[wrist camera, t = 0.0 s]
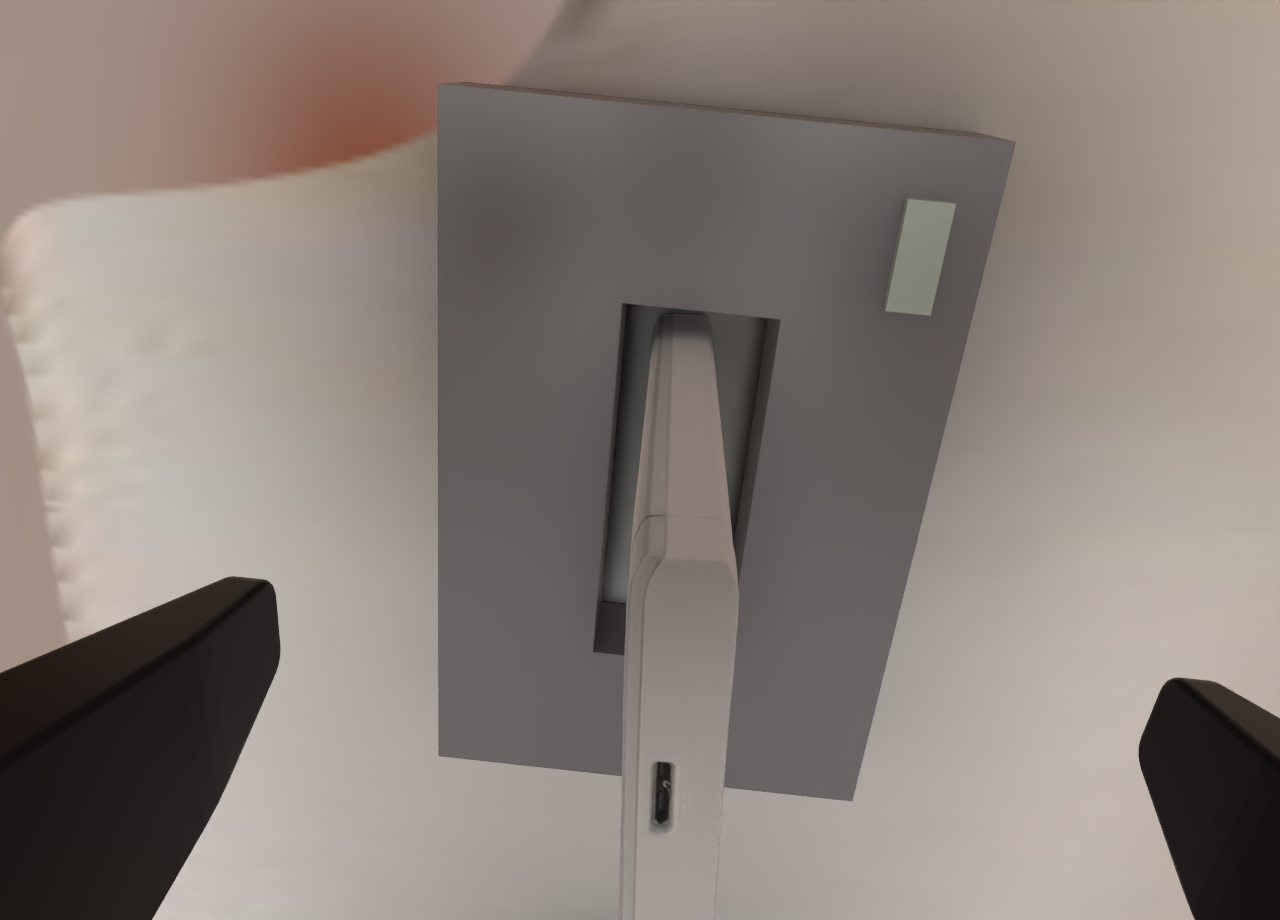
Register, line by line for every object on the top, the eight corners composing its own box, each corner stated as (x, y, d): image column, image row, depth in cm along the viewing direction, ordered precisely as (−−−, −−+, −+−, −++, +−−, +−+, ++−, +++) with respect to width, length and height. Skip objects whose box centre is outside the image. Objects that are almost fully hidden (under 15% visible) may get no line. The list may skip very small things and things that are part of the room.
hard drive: (646, 586, 26) (610, 986, 15) (652, 311, 23) (614, 554, 11) (703, 589, 26) (711, 991, 15) (717, 313, 23) (744, 560, 11)
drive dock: (839, 741, 28) (853, 809, 25) (459, 700, 28) (436, 763, 26) (979, 133, 21) (1019, 143, 18) (465, 82, 21) (433, 84, 18)
